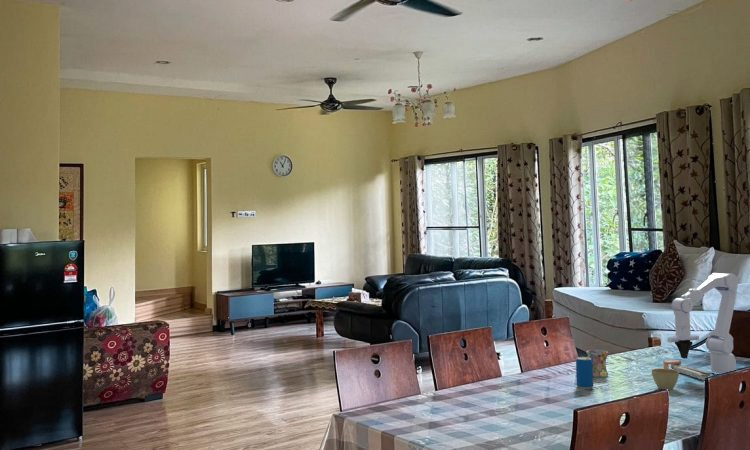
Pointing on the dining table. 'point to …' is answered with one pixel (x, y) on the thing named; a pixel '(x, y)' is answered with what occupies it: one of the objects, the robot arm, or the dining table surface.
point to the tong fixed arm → (674, 366)
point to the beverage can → (584, 372)
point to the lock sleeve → (670, 363)
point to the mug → (598, 362)
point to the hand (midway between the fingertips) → (684, 358)
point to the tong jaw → (691, 373)
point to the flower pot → (665, 378)
